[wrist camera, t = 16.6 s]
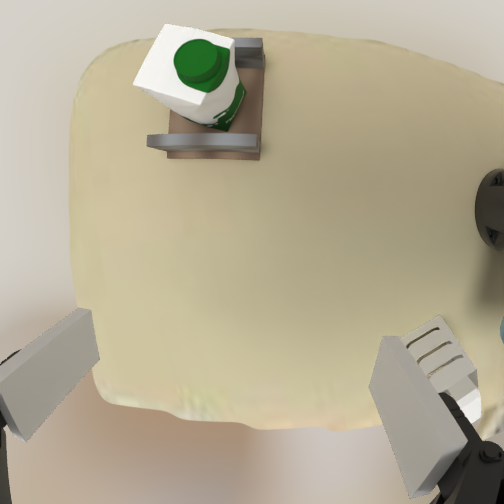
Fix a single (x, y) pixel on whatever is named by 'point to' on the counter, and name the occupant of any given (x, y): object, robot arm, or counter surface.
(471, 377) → the grater
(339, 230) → the counter surface
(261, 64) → the carton caddy
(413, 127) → the counter surface
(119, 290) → the counter surface
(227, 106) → the soya milk
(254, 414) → the counter surface
